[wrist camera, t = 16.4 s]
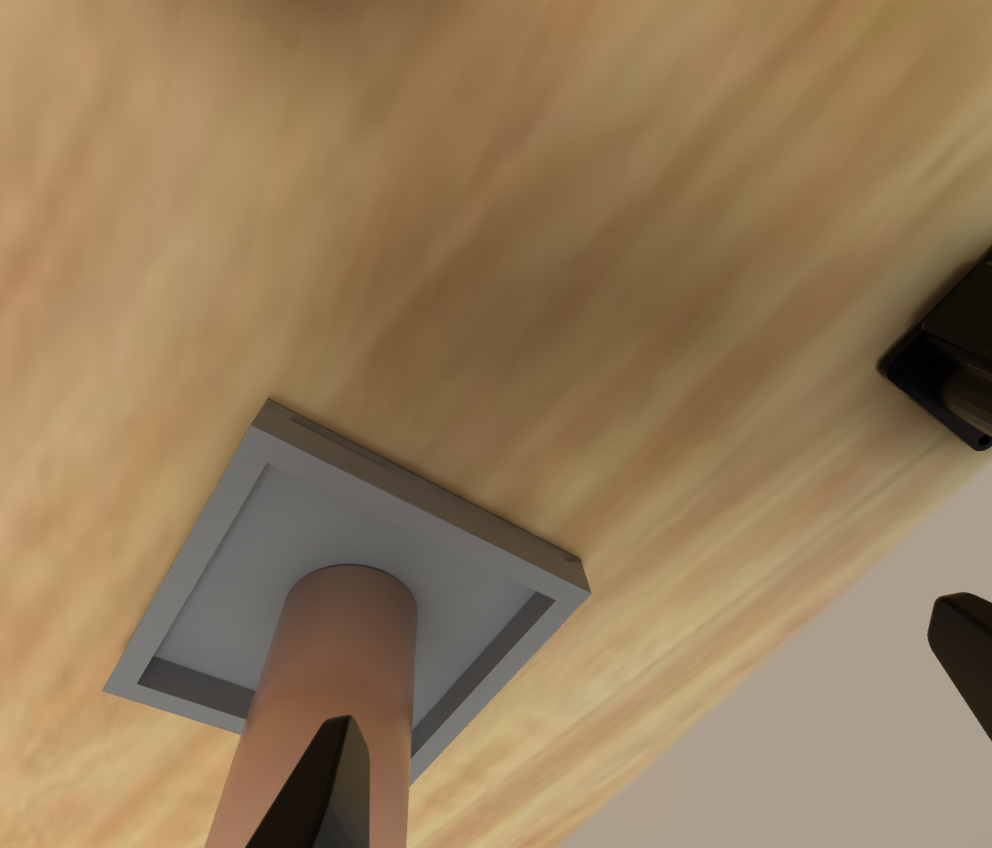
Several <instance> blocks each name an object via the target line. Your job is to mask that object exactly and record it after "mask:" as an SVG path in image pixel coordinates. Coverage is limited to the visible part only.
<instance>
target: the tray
mask: <svg viewBox="0 0 992 848" xmlns="http://www.w3.org/2000/svg"><path fill="white" fill-rule="evenodd" d="M344 565H352V566H363V567H368V568H372V569H376V570H379V571H381V572H384V573H386V574H388V575H390V576H392V577H393V578H395V579H397V580H398V581H399V582H401V583H402V584H403V585H404V586H405V587H406V588H407V589H408V590H409V592H410V593H411V594H412V596H413V598H414V600H415V602H416V605H417V609H418V627H417V647H416V666H415V685H414V704H413V723H412V743H411V762H410V781H409V787H410V786H411V784H412V783H413V782H414V781H415V780H416V779H417V778H418V777H419V776H420V775H421V774H422V773H423V772H424V771H425V770H426V769H427V767H428V766H429V765H430V764H431V763H432V762H433V761H434V760H435V759H436V758H437V757H438V756H439V755H440V754H441V753H442V752H443V750H444V749H445V748H446V747H447V746H448V745H449V744H450V743H451V742H452V741H453V740H454V739H455V738H456V737H457V736H458V735H459V733H460V732H461V731H462V730H463V729H464V728H465V727H466V726H467V725H468V724H469V723H470V722H471V721H472V720H473V719H474V718H475V716H476V715H477V714H478V713H479V712H480V711H481V710H482V709H483V708H484V707H485V706H486V705H487V704H488V703H489V702H490V701H491V699H492V698H493V697H494V696H495V695H496V694H497V693H498V692H499V691H500V690H501V689H502V688H503V687H504V686H505V685H506V684H507V682H508V681H509V680H510V679H511V678H512V677H513V676H514V675H515V674H516V673H517V672H518V671H519V670H520V669H521V668H522V667H523V665H524V664H525V663H526V662H527V661H528V660H529V659H530V658H531V657H532V656H533V655H534V654H535V653H536V652H537V651H538V650H539V649H540V647H541V646H542V645H543V644H544V643H545V642H546V641H547V640H548V639H549V638H550V637H551V636H552V635H553V634H554V633H555V632H556V630H557V629H558V628H559V627H560V626H561V625H562V624H563V623H564V622H565V621H566V620H567V619H568V618H569V617H570V616H571V615H572V613H573V612H574V611H575V610H576V609H577V608H578V607H579V606H580V605H581V604H582V603H583V602H584V601H585V600H586V599H587V598H588V596H589V595H590V594H591V591H590V587H589V584H588V581H587V578H586V575H585V572H584V569H583V565H582V562H581V560H580V559H578V558H576V557H574V556H572V555H571V554H569V553H567V552H565V551H563V550H561V549H559V548H557V547H555V546H553V545H551V544H549V543H547V542H545V541H543V540H541V539H539V538H537V537H536V536H534V535H532V534H530V533H528V532H526V531H524V530H522V529H520V528H518V527H516V526H514V525H512V524H510V523H508V522H506V521H504V520H502V519H500V518H499V517H497V516H495V515H493V514H491V513H489V512H487V511H485V510H483V509H481V508H479V507H477V506H475V505H473V504H471V503H469V502H467V501H465V500H464V499H462V498H460V497H458V496H456V495H454V494H452V493H450V492H448V491H446V490H444V489H442V488H440V487H438V486H436V485H434V484H432V483H430V482H429V481H427V480H425V479H423V478H421V477H419V476H417V475H415V474H413V473H411V472H409V471H407V470H405V469H403V468H401V467H399V466H397V465H395V464H393V463H392V462H390V461H388V460H386V459H384V458H382V457H380V456H378V455H376V454H374V453H372V452H370V451H368V450H366V449H364V448H362V447H360V446H358V445H357V444H355V443H353V442H351V441H349V440H347V439H345V438H343V437H341V436H339V435H337V434H335V433H333V432H331V431H329V430H327V429H325V428H323V427H321V426H320V425H318V424H316V423H314V422H312V421H310V420H308V419H306V418H304V417H302V416H300V415H298V414H296V413H294V412H292V411H290V410H288V409H286V408H285V407H283V406H281V405H279V404H277V403H275V402H273V401H271V400H269V399H267V401H266V402H265V404H264V405H263V407H262V409H261V410H260V412H259V413H258V415H257V416H256V418H255V420H254V421H253V423H252V424H251V426H250V428H249V429H248V431H247V433H246V435H245V437H244V438H243V440H242V442H241V444H240V446H239V447H238V449H237V451H236V453H235V454H234V456H233V458H232V460H231V462H230V463H229V465H228V467H227V469H226V470H225V472H224V474H223V476H222V478H221V479H220V481H219V483H218V485H217V487H216V488H215V490H214V492H213V494H212V495H211V497H210V499H209V501H208V503H207V504H206V506H205V508H204V510H203V512H202V513H201V515H200V517H199V519H198V520H197V522H196V524H195V526H194V528H193V529H192V531H191V533H190V535H189V537H188V538H187V540H186V542H185V544H184V545H183V547H182V549H181V551H180V553H179V554H178V556H177V558H176V560H175V561H174V563H173V565H172V567H171V569H170V570H169V572H168V574H167V576H166V578H165V579H164V581H163V583H162V585H161V586H160V588H159V590H158V592H157V594H156V595H155V597H154V599H153V601H152V603H151V604H150V606H149V608H148V610H147V611H146V613H145V615H144V617H143V619H142V620H141V622H140V624H139V626H138V628H137V629H136V631H135V633H134V635H133V636H132V638H131V640H130V642H129V644H128V645H127V647H126V649H125V651H124V652H123V654H122V656H121V658H120V660H119V661H118V663H117V665H116V667H115V669H114V670H113V672H112V674H111V676H110V677H109V679H108V681H107V683H106V685H105V686H104V688H103V690H102V691H104V692H107V693H110V694H113V695H116V696H119V697H123V698H126V699H129V700H132V701H135V702H139V703H142V704H145V705H148V706H151V707H154V708H158V709H161V710H164V711H167V712H170V713H173V714H177V715H180V716H183V717H186V718H189V719H192V720H196V721H199V722H202V723H205V724H208V725H211V726H215V727H218V728H221V729H224V730H227V731H230V732H234V733H237V734H240V735H241V733H242V730H243V727H244V724H245V721H246V718H247V715H248V712H249V709H250V706H251V703H252V700H253V697H254V694H255V691H256V687H257V684H258V681H259V678H260V675H261V672H262V669H263V666H264V663H265V660H266V657H267V654H268V651H269V648H270V645H271V641H272V638H273V635H274V632H275V629H276V626H277V623H278V620H279V617H280V614H281V611H282V608H283V605H284V602H285V599H286V597H287V595H288V593H289V591H290V590H291V589H292V587H293V586H294V585H295V584H296V583H297V582H298V581H300V580H301V579H303V578H304V577H305V576H307V575H309V574H311V573H313V572H316V571H318V570H321V569H325V568H328V567H334V566H344Z"/></svg>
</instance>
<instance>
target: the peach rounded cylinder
mask: <svg viewBox="0 0 992 848" xmlns="http://www.w3.org/2000/svg"><path fill="white" fill-rule="evenodd" d="M417 627H418V609H417V605H416V602H415V600H414V598H413V596H412V594H411V593H410V592H409V590H408V589H407V588H406V587H405V586H404V585H403V584H402V583H401V582H399V581H398V580H397V579H395V578H393V577H392V576H390V575H388V574H386V573H384V572H381V571H379V570H376V569H372V568H368V567H363V566H352V565H344V566H334V567H328V568H325V569H321V570H318V571H316V572H313V573H311V574H309V575H307V576H305V577H304V578H303V579H301V580H300V581H298V582H297V583H296V584H295V585H294V586H293V587H292V589H291V590H290V591H289V593H288V595H287V597H286V599H285V602H284V605H283V608H282V611H281V614H280V617H279V620H278V623H277V626H276V629H275V632H274V635H273V638H272V641H271V645H270V648H269V651H268V654H267V657H266V660H265V663H264V666H263V669H262V672H261V675H260V678H259V681H258V684H257V687H256V691H255V694H254V697H253V700H252V703H251V706H250V709H249V712H248V715H247V718H246V721H245V724H244V727H243V730H242V733H241V737H240V740H239V743H238V746H237V749H236V752H235V755H234V758H233V761H232V764H231V767H230V770H229V773H228V776H227V779H226V783H225V786H224V789H223V792H222V795H221V798H220V801H219V804H218V807H217V810H216V813H215V816H214V819H213V822H212V825H211V829H210V832H209V835H208V838H207V841H206V844H205V847H204V848H245V846H246V845H247V843H248V842H249V840H250V838H251V837H252V835H253V833H254V832H255V830H256V829H257V827H258V825H259V824H260V822H261V821H262V819H263V817H264V816H265V814H266V813H267V811H268V809H269V808H270V806H271V805H272V803H273V801H274V800H275V798H276V797H277V795H278V793H279V792H280V790H281V789H282V787H283V785H284V784H285V782H286V781H287V779H288V777H289V776H290V774H291V773H292V771H293V769H294V768H295V766H296V764H297V763H298V761H299V760H300V758H301V756H302V755H303V753H304V752H305V750H306V748H307V747H308V745H309V744H310V742H311V740H312V739H313V737H314V736H315V734H316V732H317V731H318V729H319V728H320V726H321V725H322V723H323V722H324V721H325V720H327V719H329V718H333V717H338V716H343V715H352V716H353V717H354V718H355V720H356V722H357V724H358V726H359V729H360V731H361V733H362V735H363V737H364V739H365V741H366V744H367V746H368V750H369V755H370V848H406V839H407V820H408V800H409V781H410V762H411V743H412V723H413V704H414V685H415V666H416V647H417Z"/></svg>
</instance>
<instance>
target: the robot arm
mask: <svg viewBox="0 0 992 848" xmlns="http://www.w3.org/2000/svg"><path fill="white" fill-rule="evenodd" d="M898 364H899V367H898V368H897V369H896V370H895V371H893V370H894V368H895V366H896V365H898ZM879 371H880V374H881V375H882V376H883V377H884V378H885V379H886V380H887V381H889V382H890V383H891V384H892V385H894V386H895V387H896V388H897V389H899V390H900V391H901V392H902V393H903V394H905V395H906V396H907V397H908V398H910V399H911V400H912V401H913V402H914V403H916V404H917V405H918V406H919V407H921V408H922V409H923V410H924V411H925V412H927V413H928V414H929V415H930V416H932V417H933V418H934V419H935V420H937V421H938V422H939V423H940V424H941V425H943V426H944V427H945V428H946V429H948V430H949V431H950V432H951V433H952V434H954V435H955V436H956V437H957V438H959V439H960V440H961V441H962V442H963V443H965V444H966V445H968V446H969V447H971V448H972V449H974V450H976V451H983V450H986V449H988V448H990V447H991V446H992V251H991V252H990V253H989V254H988V255H987V256H986V257H985V258H984V259H983V260H982V261H981V262H980V263H979V264H978V265H977V266H976V267H975V268H974V269H973V270H972V271H971V272H970V273H969V274H968V275H967V276H966V277H965V278H964V279H963V280H962V281H961V282H960V283H959V284H958V285H957V286H956V287H955V288H954V289H953V290H952V291H951V292H950V293H949V294H948V295H947V296H946V297H945V298H944V299H943V300H942V301H941V302H940V303H939V304H938V305H937V306H936V307H935V308H934V309H933V310H932V311H931V312H930V313H929V314H928V315H927V316H926V317H925V318H924V319H923V320H922V321H921V322H920V323H919V324H918V325H917V326H916V327H915V328H914V329H913V330H912V331H911V332H910V333H909V334H908V335H907V336H906V337H905V338H904V339H903V340H902V341H901V342H900V343H899V344H898V345H897V346H896V347H895V348H894V349H893V350H892V351H891V352H890V353H889V354H888V355H887V356H886V357H885V358H884V360H883V361H882V362H881V364H880V367H879ZM927 636H928V641H929V645H930V647H931V649H932V651H933V653H934V654H935V656H936V657H937V659H938V660H939V662H940V663H941V665H942V666H943V668H944V669H945V671H946V672H947V674H948V676H949V677H950V678H951V680H952V682H953V683H954V685H955V686H956V688H957V689H958V691H959V692H960V694H961V695H962V697H963V698H964V700H965V702H966V703H967V704H968V706H969V708H970V709H971V711H972V712H973V714H974V715H975V717H976V718H977V720H978V721H979V723H980V724H981V726H982V727H983V729H984V731H985V732H986V734H987V735H988V737H989V738H990V739H991V741H992V603H991V602H989V601H987V600H985V599H983V598H980V597H978V596H976V595H973V594H970V593H966V592H960V593H955V594H950V595H945V596H941V597H938V598H937V599H936V601H935V603H934V606H933V611H932V615H931V619H930V624H929V628H928V633H927ZM245 848H370V755H369V750H368V746H367V744H366V741H365V739H364V737H363V735H362V733H361V731H360V729H359V726H358V724H357V722H356V720H355V718H354V717H353V716H352V715H343V716H338V717H333V718H329V719H327V720H325V721H324V722H323V723H322V725H321V726H320V728H319V729H318V731H317V732H316V734H315V736H314V737H313V739H312V740H311V742H310V744H309V745H308V747H307V748H306V750H305V752H304V753H303V755H302V756H301V758H300V760H299V761H298V763H297V764H296V766H295V768H294V769H293V771H292V773H291V774H290V776H289V777H288V779H287V781H286V782H285V784H284V785H283V787H282V789H281V790H280V792H279V793H278V795H277V797H276V798H275V800H274V801H273V803H272V805H271V806H270V808H269V809H268V811H267V813H266V814H265V816H264V817H263V819H262V821H261V822H260V824H259V825H258V827H257V829H256V830H255V832H254V833H253V835H252V837H251V838H250V840H249V842H248V843H247V845H246V846H245Z"/></svg>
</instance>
